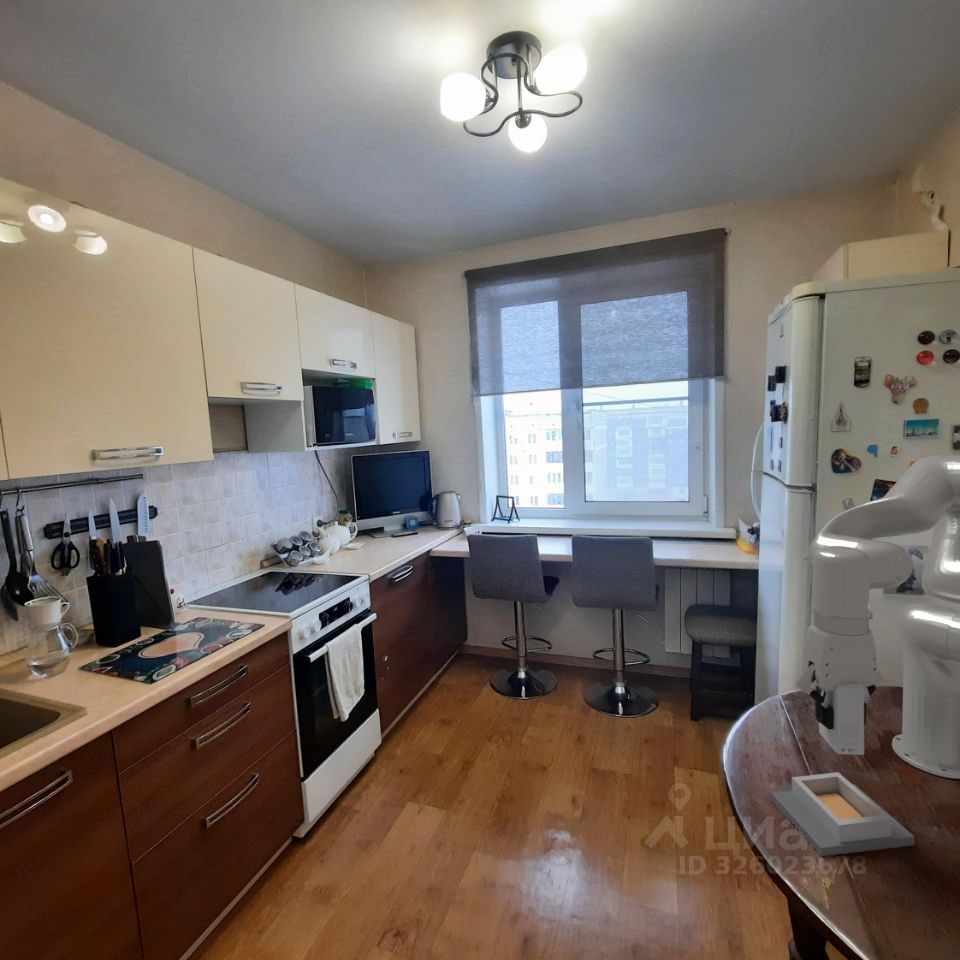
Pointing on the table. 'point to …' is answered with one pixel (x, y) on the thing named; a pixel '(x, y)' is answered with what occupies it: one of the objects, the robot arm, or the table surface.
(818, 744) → the table surface
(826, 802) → the button
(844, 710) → the skincare box
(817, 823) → the panel
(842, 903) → the table surface
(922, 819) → the table surface
